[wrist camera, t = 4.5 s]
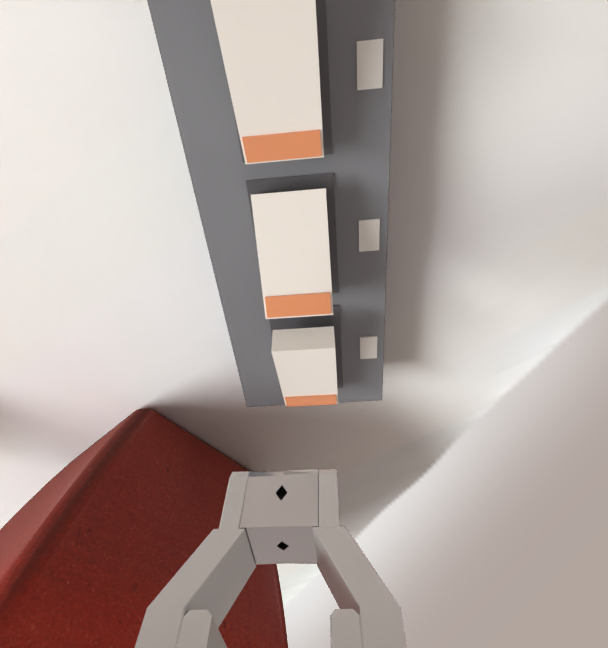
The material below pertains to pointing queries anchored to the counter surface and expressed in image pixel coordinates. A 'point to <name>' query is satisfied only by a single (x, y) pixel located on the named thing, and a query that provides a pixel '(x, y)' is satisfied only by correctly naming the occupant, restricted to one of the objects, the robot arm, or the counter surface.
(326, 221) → the rocker
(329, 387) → the rocker
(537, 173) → the counter surface
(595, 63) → the counter surface
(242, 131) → the block
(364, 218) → the rocker switch panel
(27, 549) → the plant pot
